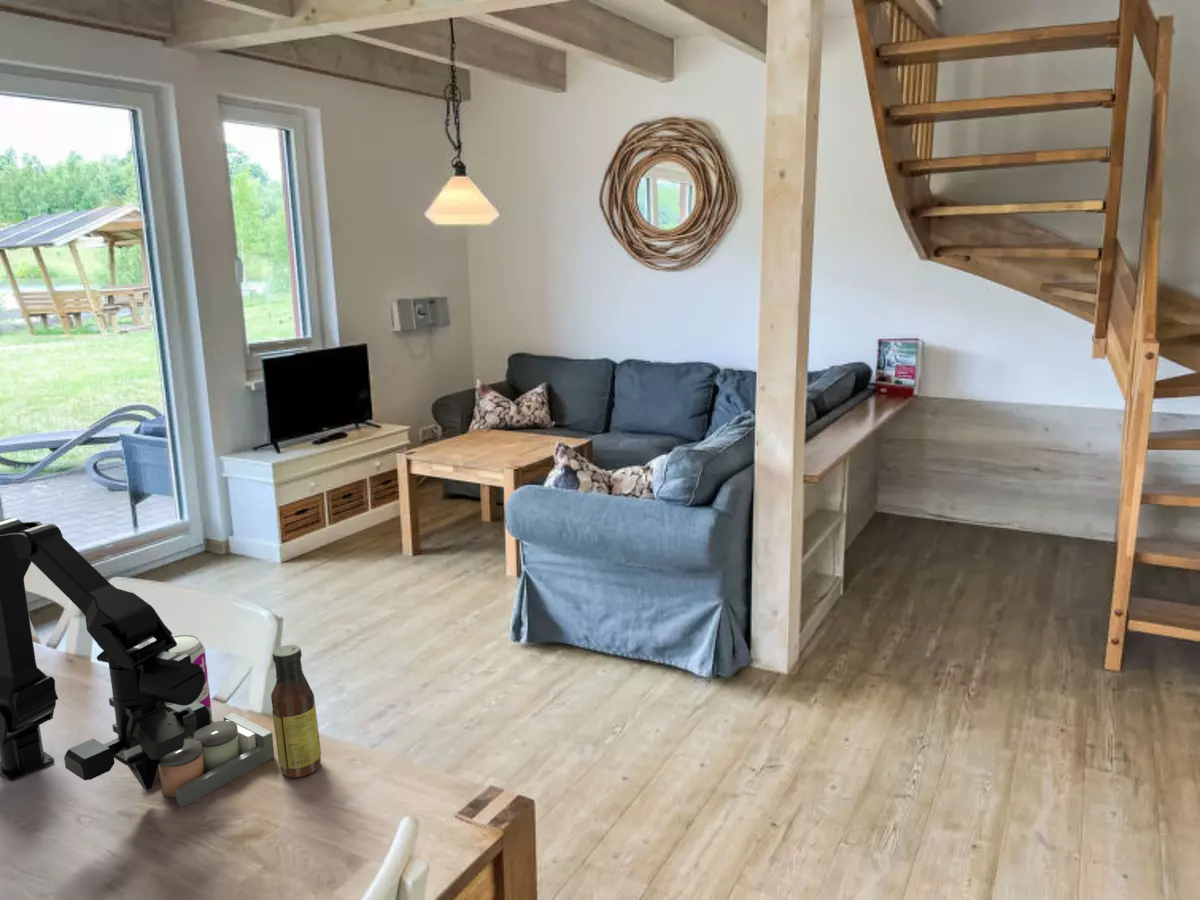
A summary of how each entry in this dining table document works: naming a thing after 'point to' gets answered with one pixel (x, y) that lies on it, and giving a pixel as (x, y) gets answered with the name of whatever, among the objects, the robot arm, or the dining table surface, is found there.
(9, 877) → the dining table surface
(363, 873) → the dining table surface
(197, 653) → the supplement can
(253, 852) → the dining table surface
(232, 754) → the jar sage
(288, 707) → the sauce bottle
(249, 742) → the bar
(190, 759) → the jar terracotta
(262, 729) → the lane
